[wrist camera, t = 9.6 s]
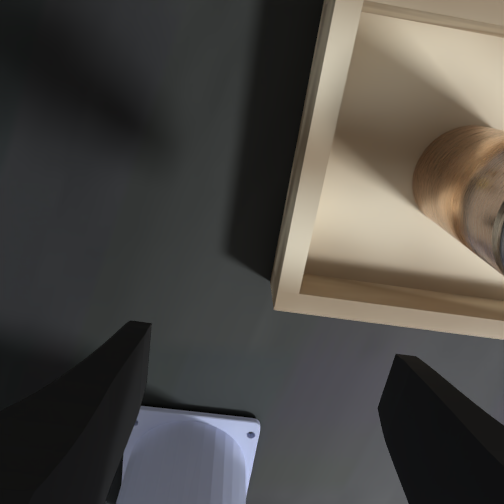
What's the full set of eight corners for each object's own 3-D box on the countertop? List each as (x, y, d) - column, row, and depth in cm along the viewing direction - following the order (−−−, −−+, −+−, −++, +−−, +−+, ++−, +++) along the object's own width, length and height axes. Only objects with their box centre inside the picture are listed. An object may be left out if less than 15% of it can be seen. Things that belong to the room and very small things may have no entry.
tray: (552, 319, 24) (592, 351, 22) (270, 281, 23) (274, 309, 20) (681, 46, 19) (755, 41, 17) (327, -20, 18) (343, -38, 15)
